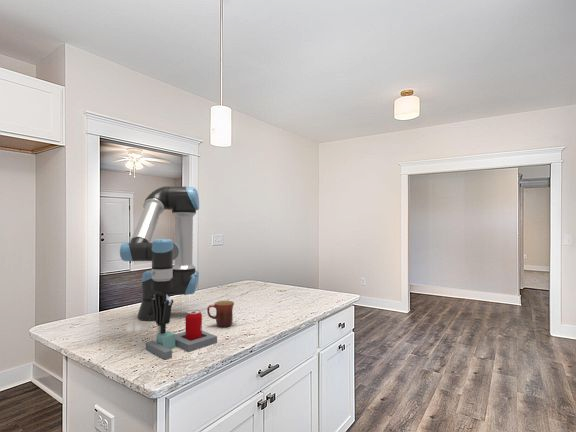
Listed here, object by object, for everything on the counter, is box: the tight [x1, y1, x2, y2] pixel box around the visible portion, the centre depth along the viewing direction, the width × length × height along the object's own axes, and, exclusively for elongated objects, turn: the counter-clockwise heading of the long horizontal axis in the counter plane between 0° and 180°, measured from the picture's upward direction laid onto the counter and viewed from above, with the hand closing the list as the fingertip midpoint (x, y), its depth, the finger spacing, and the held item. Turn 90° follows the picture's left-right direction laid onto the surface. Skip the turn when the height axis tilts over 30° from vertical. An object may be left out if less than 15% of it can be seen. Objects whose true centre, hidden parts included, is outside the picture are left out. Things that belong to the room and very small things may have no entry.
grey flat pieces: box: [145, 330, 218, 360], centre depth 129 cm, size 14×22×2 cm, turn 139°
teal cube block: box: [155, 330, 176, 350], centre depth 127 cm, size 5×5×5 cm
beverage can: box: [185, 309, 203, 341], centre depth 133 cm, size 6×6×12 cm
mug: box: [206, 300, 235, 328], centre depth 154 cm, size 12×9×10 cm
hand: (161, 341), depth 129 cm, fingers closed
